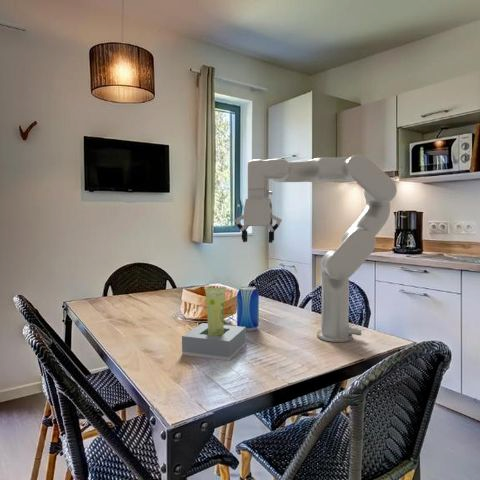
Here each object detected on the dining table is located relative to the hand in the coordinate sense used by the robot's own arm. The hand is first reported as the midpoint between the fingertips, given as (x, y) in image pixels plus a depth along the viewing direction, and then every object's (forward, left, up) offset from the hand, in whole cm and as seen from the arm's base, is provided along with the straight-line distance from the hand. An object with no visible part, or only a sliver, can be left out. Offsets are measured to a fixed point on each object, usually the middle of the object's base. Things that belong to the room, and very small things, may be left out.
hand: (257, 242), depth 142 cm
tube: (+9, +19, -34) cm, 40 cm away
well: (+9, +19, -34) cm, 40 cm away
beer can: (+6, -7, -34) cm, 36 cm away
